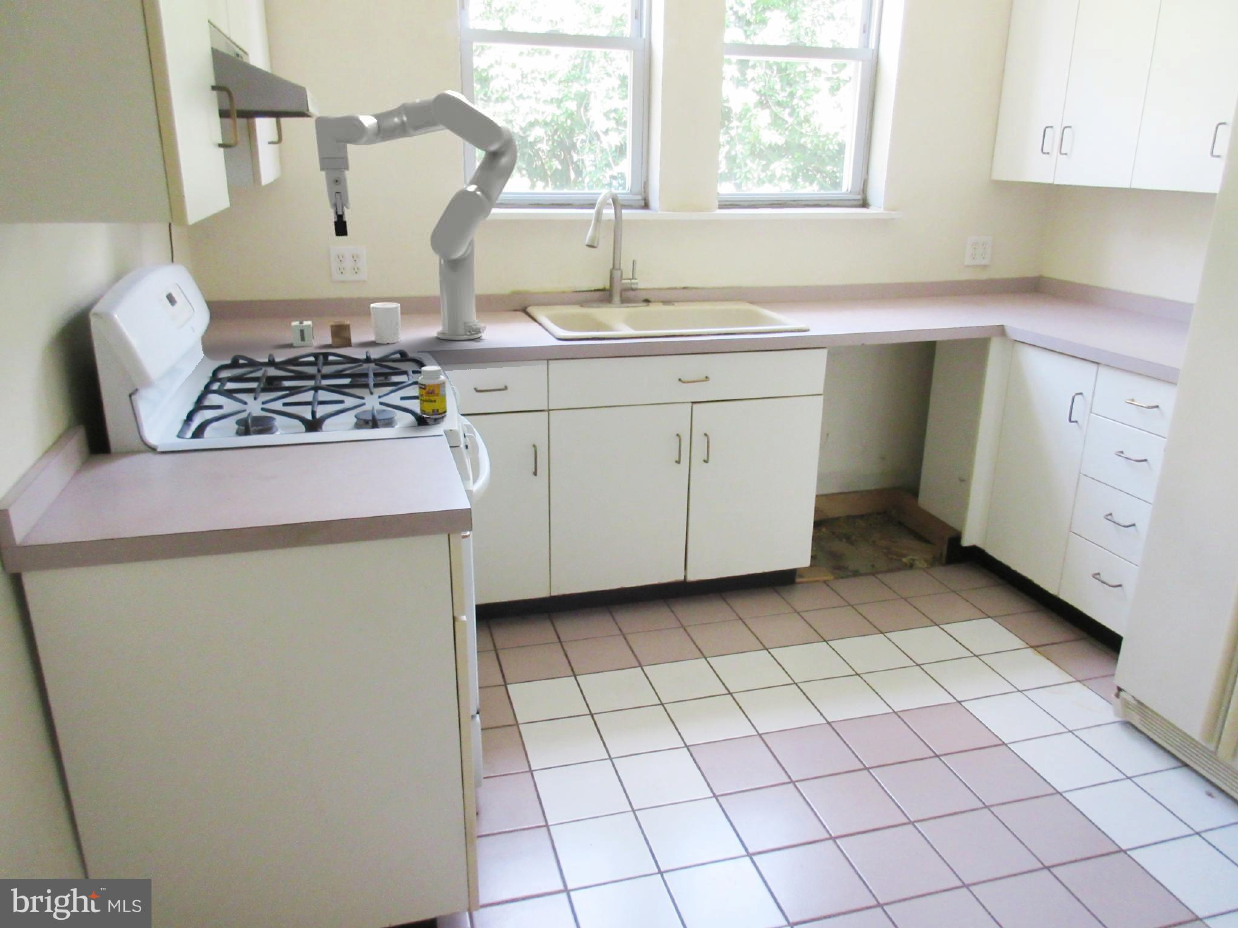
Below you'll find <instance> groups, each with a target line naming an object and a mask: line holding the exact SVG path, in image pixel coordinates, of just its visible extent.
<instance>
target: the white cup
mask: <svg viewBox="0 0 1238 928" xmlns="http://www.w3.org/2000/svg"><path fill="white" fill-rule="evenodd" d="M369 308H370V316H371V325H372V331H373V333H374V334H373V336H374V342H375V343H378V344H383V345H384V344H387V343H389V344H395V343H399V342H400V341H401V304H400V303H399V302H388V301H387V302H376V303H371V304H370V305H369ZM387 345H388V344H387Z"/></svg>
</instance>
